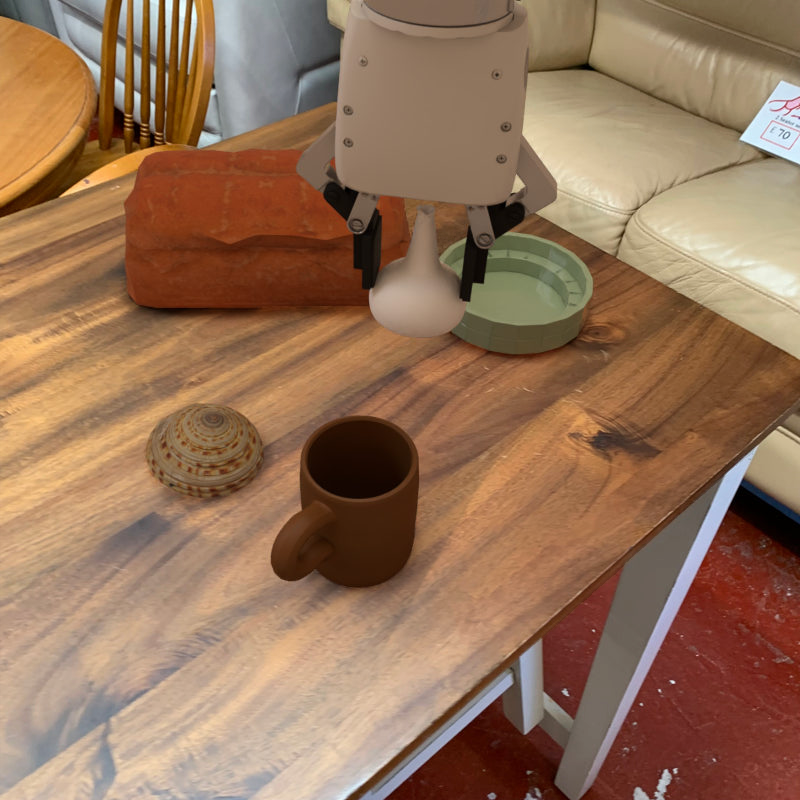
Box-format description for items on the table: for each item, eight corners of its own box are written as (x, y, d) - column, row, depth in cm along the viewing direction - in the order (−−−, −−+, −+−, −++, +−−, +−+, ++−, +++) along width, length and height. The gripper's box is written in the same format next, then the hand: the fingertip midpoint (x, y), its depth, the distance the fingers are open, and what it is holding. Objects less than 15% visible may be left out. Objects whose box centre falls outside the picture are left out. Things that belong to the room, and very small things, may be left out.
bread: (147, 224, 85) (127, 127, 78) (405, 224, 87) (410, 129, 80) (120, 319, 74) (94, 216, 67) (416, 316, 76) (423, 216, 69)
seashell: (181, 382, 66) (256, 384, 61) (212, 437, 69) (286, 443, 64) (111, 449, 60) (187, 457, 56) (148, 506, 63) (223, 517, 59)
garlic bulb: (365, 346, 53) (367, 239, 47) (371, 287, 57) (373, 183, 52) (464, 351, 53) (478, 245, 47) (463, 292, 57) (474, 188, 52)
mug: (330, 664, 51) (326, 578, 45) (238, 602, 54) (222, 512, 48) (434, 536, 59) (444, 446, 52) (348, 487, 61) (347, 396, 55)
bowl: (562, 261, 84) (569, 229, 81) (603, 354, 74) (613, 320, 71) (423, 267, 82) (425, 234, 79) (446, 362, 72) (449, 328, 69)
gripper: (614, -29, 42) (554, 265, 55) (285, -59, 44) (300, 235, 56) (621, 24, 37) (552, 336, 50) (246, -11, 38) (272, 302, 51)
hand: (418, 280), depth 53 cm, fingers closed on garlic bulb, 5 cm apart
